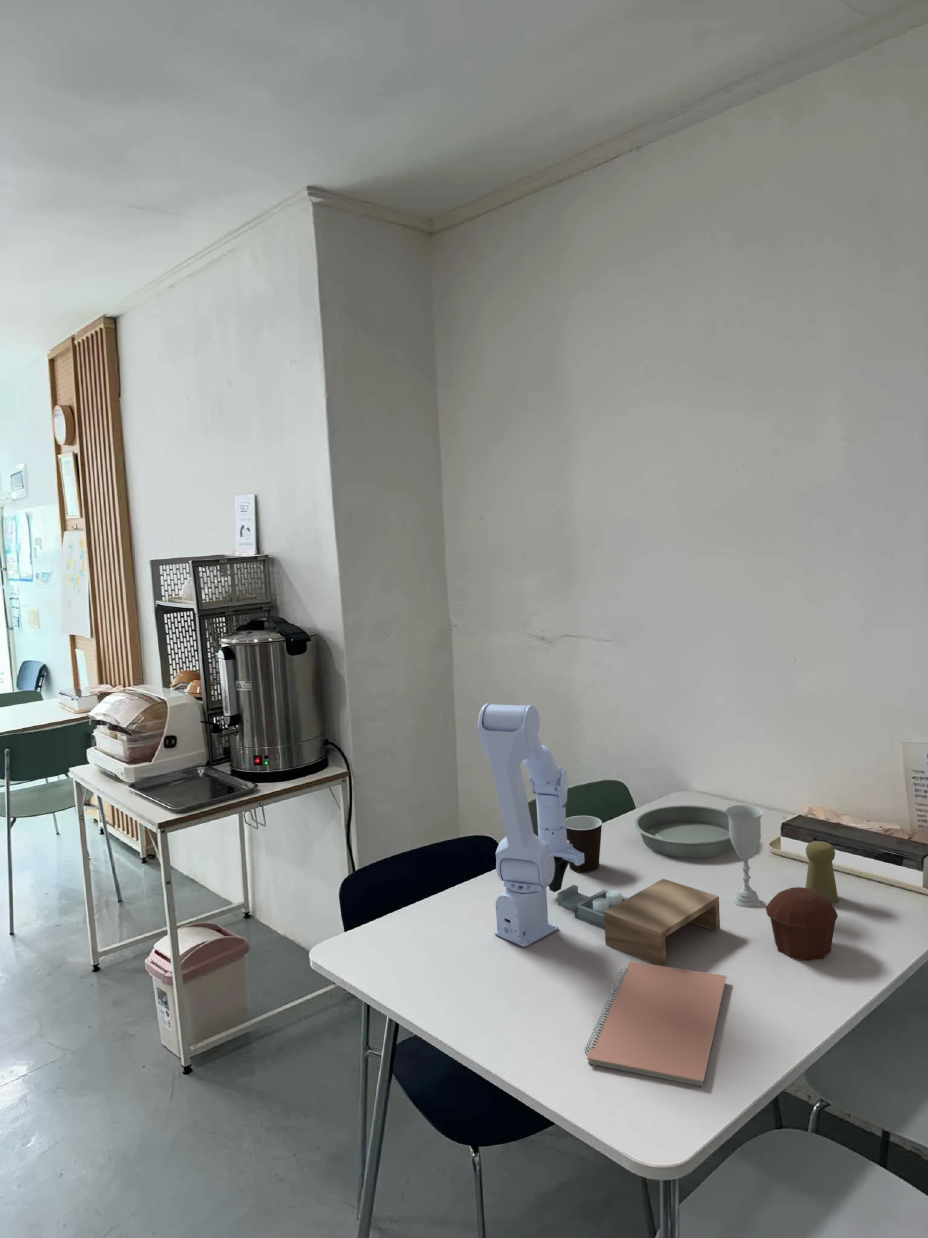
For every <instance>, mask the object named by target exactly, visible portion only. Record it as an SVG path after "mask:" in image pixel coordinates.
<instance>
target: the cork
mask: <svg viewBox="0 0 928 1238" xmlns="http://www.w3.org/2000/svg"><path fill="white" fill-rule="evenodd" d="M835 850H836V849H835V848H834V846H833V845H832V844H830V843H829V842H827V841H826V842H825V841H821V840H813V841H811V842H809V843H808V844H807V846H806V847H805V855H806V857H807V860H808V863H807V873H806V881H805V888H808V889H812V890H814V891H817V892H818V893H820V894H821V895H823V896H824V897H826V898H827V899H828V900H829V901H830V902H831V903H832V905H833V906H834V905H835V904H837V903H838V902H839V896H838V890H837V884H836V878H835V872H834V865H833V861H834V860H835V856H836V851H835Z"/></svg>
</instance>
